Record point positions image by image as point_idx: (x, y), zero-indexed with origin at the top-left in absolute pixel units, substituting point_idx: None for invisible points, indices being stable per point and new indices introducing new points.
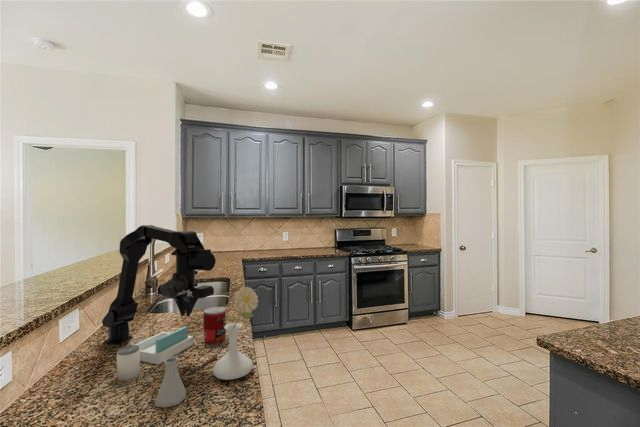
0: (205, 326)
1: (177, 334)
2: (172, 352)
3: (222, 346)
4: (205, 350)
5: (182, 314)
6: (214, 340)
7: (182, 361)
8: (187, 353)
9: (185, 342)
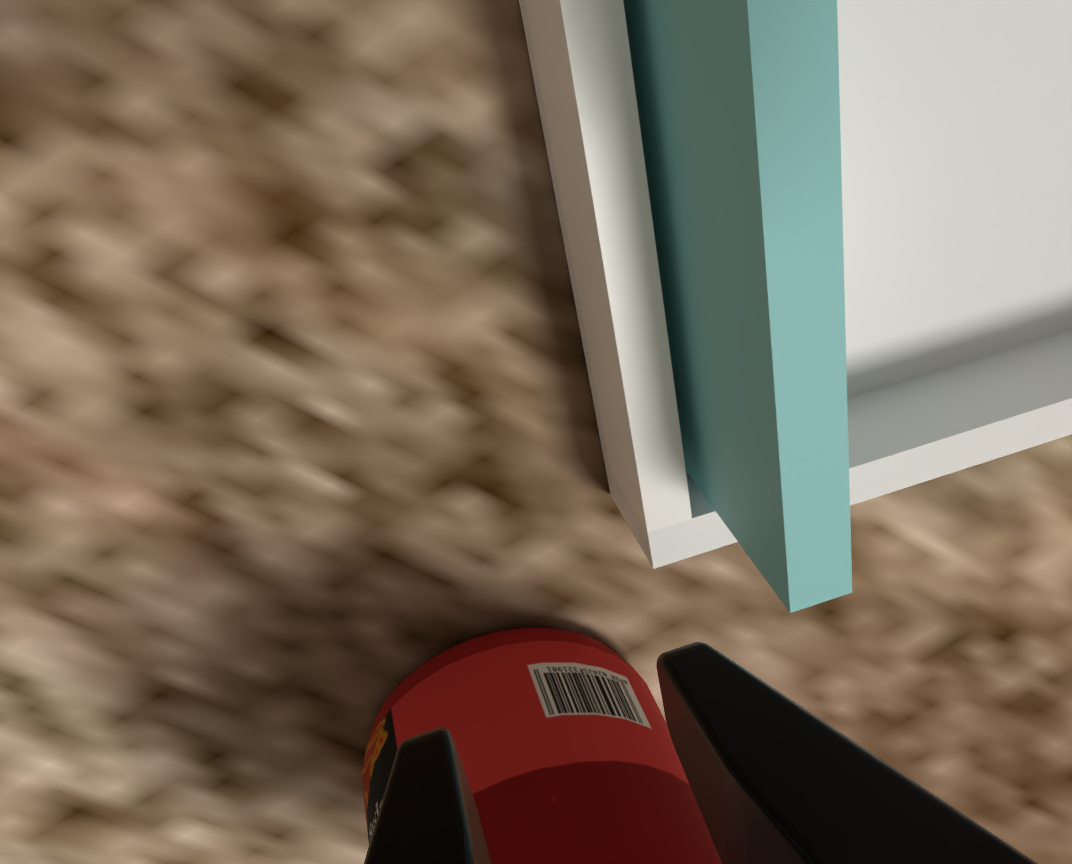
0: (589, 800)
1: (747, 360)
2: (556, 111)
3: (196, 695)
4: (282, 503)
5: (681, 701)
6: (397, 704)
7: (212, 85)
8: (426, 298)
9: (617, 403)
